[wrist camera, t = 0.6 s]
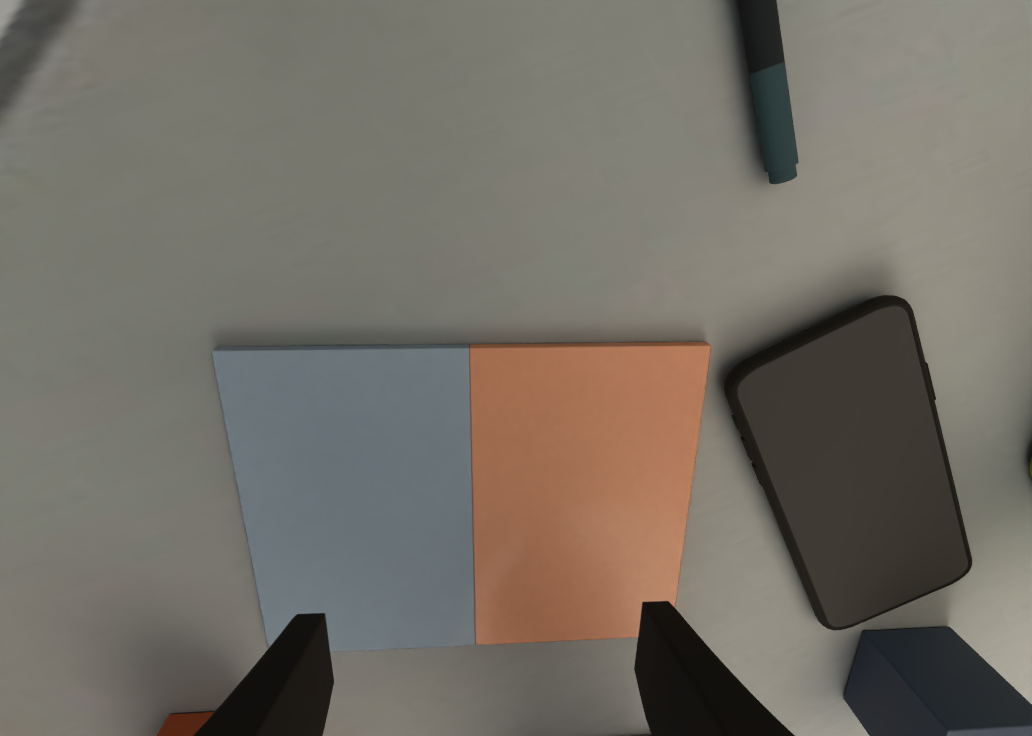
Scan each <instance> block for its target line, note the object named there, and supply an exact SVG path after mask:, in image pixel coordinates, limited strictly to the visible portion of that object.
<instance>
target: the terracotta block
mask: <svg viewBox="0 0 1032 736" xmlns="http://www.w3.org/2000/svg"><path fill="white" fill-rule="evenodd" d="M213 713H214V712H203V713H185V714H170V715H169V716H168V717H167V719H166V721H165V723H164V724H163V726H162V728H161V729H160V731H159V733H158V735H157V736H193V735H194V734H195V733H196V732H197V731H198V730H199V729H200V727H201V726H202V725H203V724H204V723H205V722H206V721H207V720H208V719H209V718H210V717H211V716H212V714H213Z"/></svg>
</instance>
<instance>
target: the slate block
mask: <svg viewBox="0 0 1032 736" xmlns="http://www.w3.org/2000/svg"><path fill="white" fill-rule="evenodd" d="M844 700H845V701H846V703H847V704H848V706H849V707H850V708H851V710H852V711H853V713H854V714H855V715H856V717H857V718H858V720H859V721H860V723H861V724H862V725H863V727H864V728H865V730H866V731H867V733H868V734H869V735H870V736H1032V704H1030V703H1029V702H1028V701H1027V700H1026V699H1025V698H1024V697H1023V696H1022V695H1021V694H1020V693H1019V692H1018V691H1017V690H1016V689H1015V688H1014V687H1013V686H1011V685H1010V684H1009V683H1008V682H1007V681H1006V680H1005V679H1004V678H1003V677H1002V676H1001V675H1000V674H999V673H998V672H997V671H996V670H995V669H994V668H992V667H991V666H990V665H989V664H988V663H987V662H986V661H985V660H984V659H983V658H982V657H981V656H980V655H979V654H978V653H977V652H976V651H975V650H973V649H972V648H971V647H970V646H969V645H968V644H967V643H966V642H965V641H964V640H963V639H962V638H961V637H960V636H959V635H958V634H957V633H956V632H954V631H953V630H952V629H951V628H950V627H938V628H917V629H896V630H876V631H863V633H862V637H861V640H860V644H859V647H858V650H857V654H856V657H855V661H854V664H853V667H852V671H851V674H850V678H849V681H848V684H847V688H846V691H845V694H844Z"/></svg>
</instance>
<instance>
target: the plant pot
mask: <svg viewBox="0 0 1032 736" xmlns="http://www.w3.org/2000/svg"><path fill="white" fill-rule="evenodd" d="M1030 476H1031V478H1032V458H1031V463H1030Z"/></svg>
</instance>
